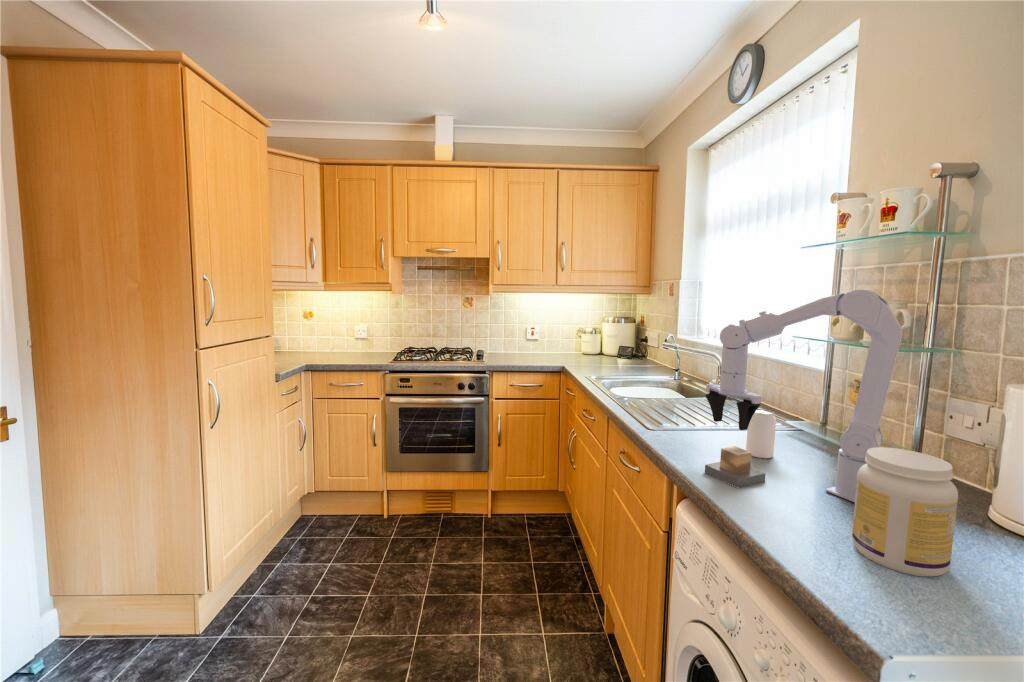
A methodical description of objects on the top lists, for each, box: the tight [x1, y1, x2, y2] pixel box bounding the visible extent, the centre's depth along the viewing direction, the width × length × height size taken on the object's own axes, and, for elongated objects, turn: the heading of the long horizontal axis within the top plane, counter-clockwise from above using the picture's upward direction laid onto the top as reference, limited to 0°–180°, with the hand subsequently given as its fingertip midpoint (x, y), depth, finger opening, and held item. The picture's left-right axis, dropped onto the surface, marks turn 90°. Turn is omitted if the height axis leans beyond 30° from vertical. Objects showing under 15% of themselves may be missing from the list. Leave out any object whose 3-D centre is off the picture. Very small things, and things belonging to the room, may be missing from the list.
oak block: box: [719, 445, 752, 474], centre depth 103 cm, size 4×4×4 cm
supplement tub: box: [851, 446, 959, 578], centre depth 71 cm, size 12×12×17 cm
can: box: [745, 408, 777, 460], centre depth 117 cm, size 6×6×12 cm
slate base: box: [704, 461, 766, 488], centre depth 103 cm, size 9×9×2 cm
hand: (730, 425), depth 111 cm, fingers open, 7 cm apart
